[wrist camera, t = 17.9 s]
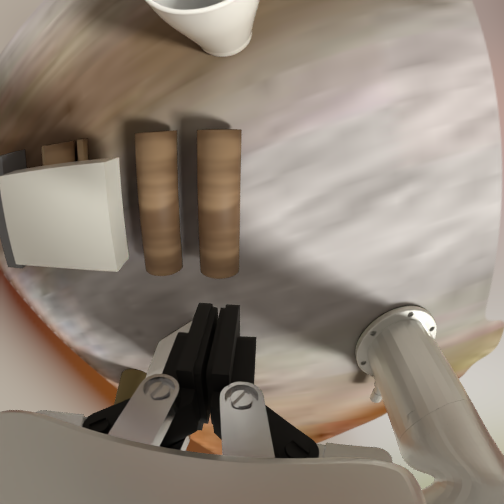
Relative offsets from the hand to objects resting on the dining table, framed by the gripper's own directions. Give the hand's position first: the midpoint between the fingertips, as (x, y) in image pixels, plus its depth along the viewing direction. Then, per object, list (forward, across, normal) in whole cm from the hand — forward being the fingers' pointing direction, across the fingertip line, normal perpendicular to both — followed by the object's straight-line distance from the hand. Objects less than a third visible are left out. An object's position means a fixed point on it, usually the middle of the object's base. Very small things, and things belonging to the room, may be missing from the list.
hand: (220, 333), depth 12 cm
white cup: (+20, +3, -18) cm, 27 cm away
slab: (+15, +18, -1) cm, 24 cm away
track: (+20, +12, -1) cm, 23 cm away
